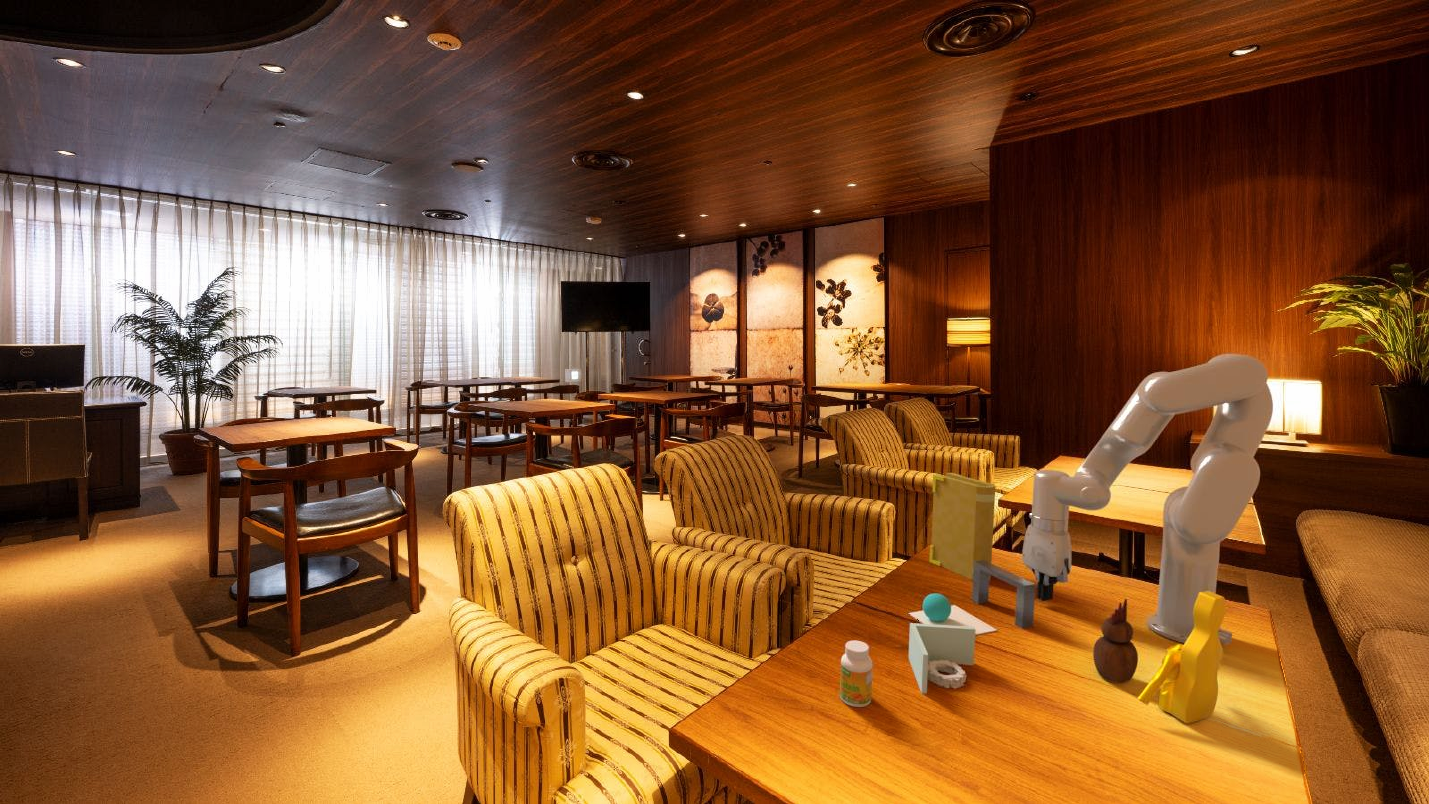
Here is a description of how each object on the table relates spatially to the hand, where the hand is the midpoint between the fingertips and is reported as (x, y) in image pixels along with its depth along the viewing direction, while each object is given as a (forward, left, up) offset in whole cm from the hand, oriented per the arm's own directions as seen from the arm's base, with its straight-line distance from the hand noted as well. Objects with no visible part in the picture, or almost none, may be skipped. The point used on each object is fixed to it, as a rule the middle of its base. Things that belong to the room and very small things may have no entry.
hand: (1044, 598), depth 143 cm
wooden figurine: (-28, +14, -2) cm, 31 cm away
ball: (+2, +30, +2) cm, 30 cm away
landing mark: (0, +27, -2) cm, 27 cm away
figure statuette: (-40, +13, -2) cm, 42 cm away
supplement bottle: (-18, +63, -2) cm, 66 cm away
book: (+24, +3, -2) cm, 24 cm away
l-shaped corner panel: (-18, +43, -2) cm, 46 cm away
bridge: (0, +13, -2) cm, 13 cm away
